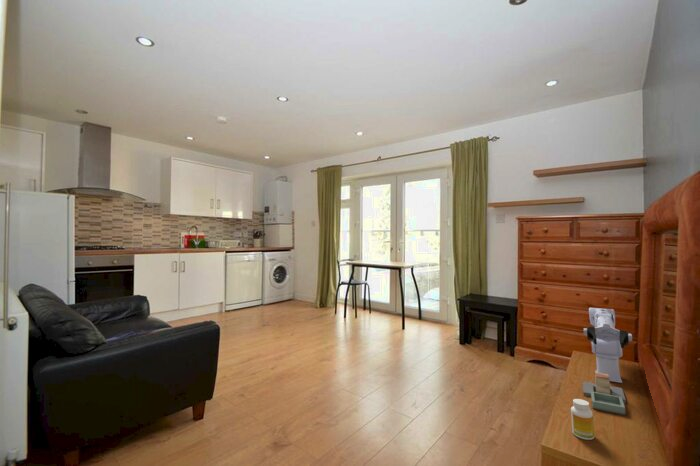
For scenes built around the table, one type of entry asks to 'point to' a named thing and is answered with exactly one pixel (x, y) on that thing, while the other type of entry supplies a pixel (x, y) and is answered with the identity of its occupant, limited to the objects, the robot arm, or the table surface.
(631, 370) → the table surface
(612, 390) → the holder board
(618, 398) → the tray
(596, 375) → the block
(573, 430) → the supplement bottle
